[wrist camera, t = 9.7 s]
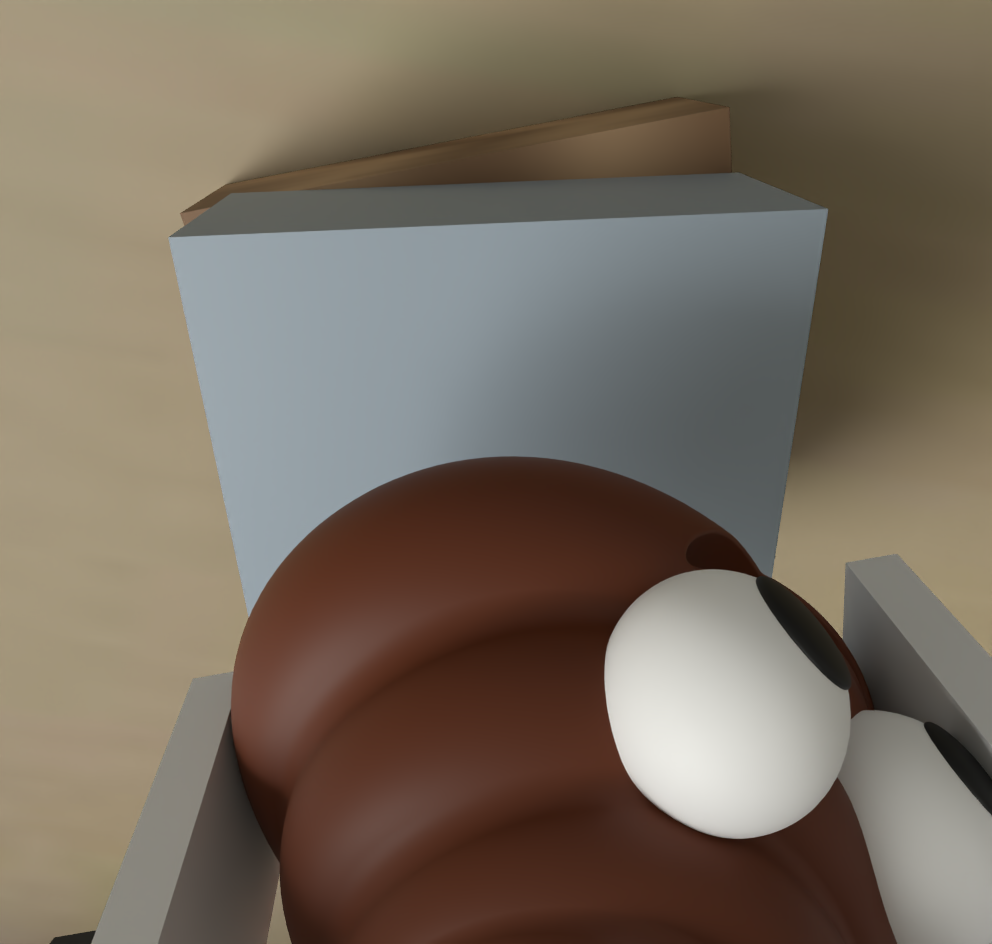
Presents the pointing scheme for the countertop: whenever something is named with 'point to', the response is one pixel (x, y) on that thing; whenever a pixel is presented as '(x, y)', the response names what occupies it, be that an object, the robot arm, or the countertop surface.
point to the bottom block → (534, 153)
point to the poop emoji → (584, 733)
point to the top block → (500, 341)
